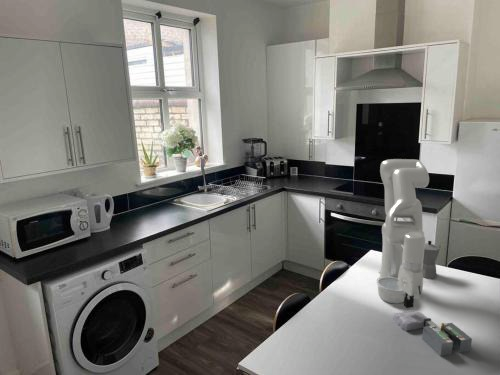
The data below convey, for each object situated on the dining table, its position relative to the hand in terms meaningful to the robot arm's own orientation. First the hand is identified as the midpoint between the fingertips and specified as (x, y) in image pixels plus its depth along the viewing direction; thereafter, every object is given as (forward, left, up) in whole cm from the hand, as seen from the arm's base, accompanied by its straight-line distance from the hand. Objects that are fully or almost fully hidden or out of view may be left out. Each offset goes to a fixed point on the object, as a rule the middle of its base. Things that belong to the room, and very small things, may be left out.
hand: (408, 306), depth 153 cm
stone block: (+2, 0, -6) cm, 7 cm away
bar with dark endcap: (+12, +4, -5) cm, 13 cm away
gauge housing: (+17, +4, -6) cm, 19 cm away
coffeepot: (-33, +32, -6) cm, 47 cm away
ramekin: (-17, +4, -6) cm, 19 cm away
